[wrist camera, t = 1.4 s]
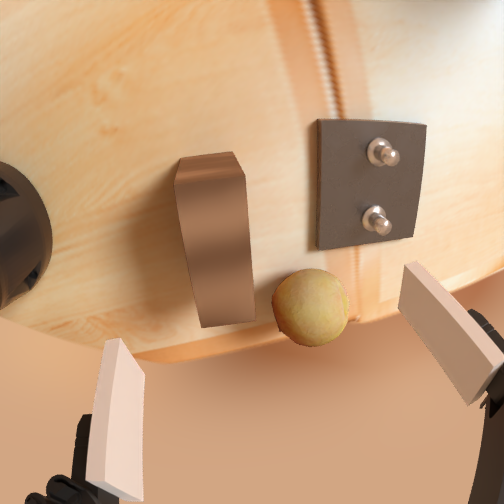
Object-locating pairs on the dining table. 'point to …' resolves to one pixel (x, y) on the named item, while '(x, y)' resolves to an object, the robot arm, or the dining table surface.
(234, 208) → the door
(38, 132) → the dining table surface
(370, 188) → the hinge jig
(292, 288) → the fruit
